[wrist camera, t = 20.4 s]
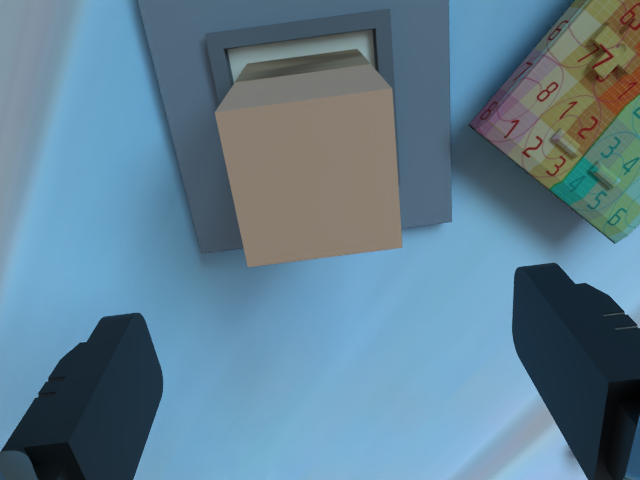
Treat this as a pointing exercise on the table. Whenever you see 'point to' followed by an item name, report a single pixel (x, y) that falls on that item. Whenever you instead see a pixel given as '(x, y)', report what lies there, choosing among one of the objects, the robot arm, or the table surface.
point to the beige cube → (312, 164)
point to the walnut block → (302, 65)
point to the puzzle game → (578, 114)
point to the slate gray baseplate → (293, 41)
